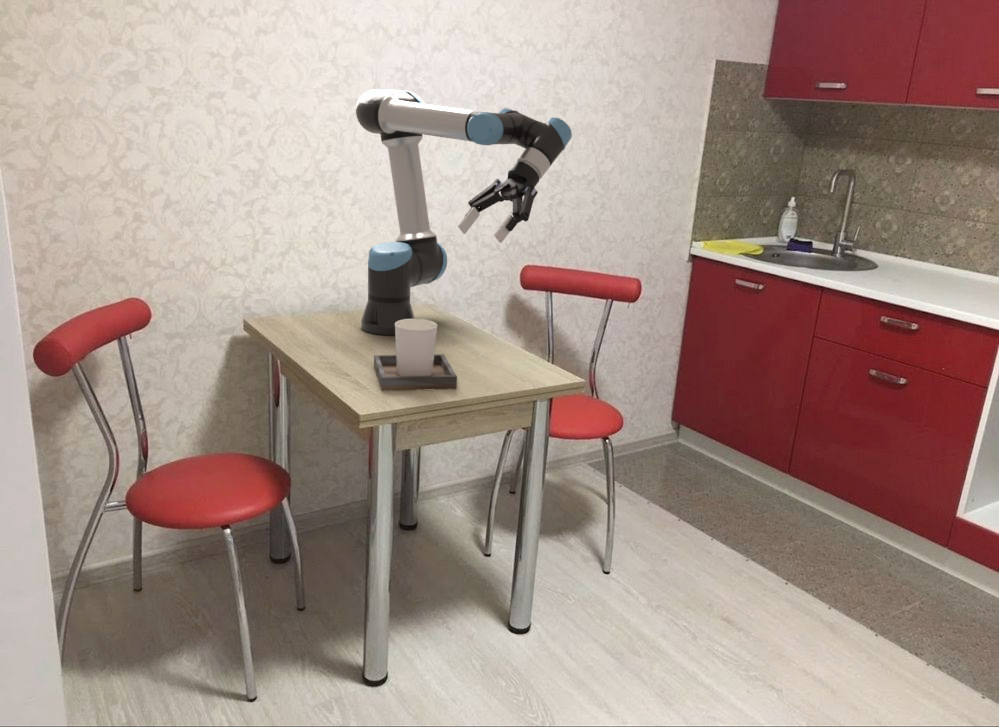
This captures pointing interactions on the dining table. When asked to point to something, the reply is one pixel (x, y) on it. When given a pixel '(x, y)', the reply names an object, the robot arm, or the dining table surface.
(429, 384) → the socket base
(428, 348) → the candle holder
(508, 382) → the dining table surface
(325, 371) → the dining table surface
